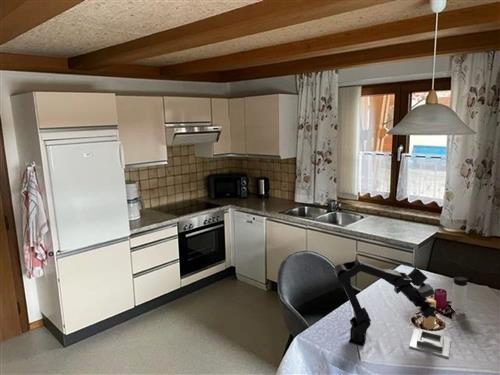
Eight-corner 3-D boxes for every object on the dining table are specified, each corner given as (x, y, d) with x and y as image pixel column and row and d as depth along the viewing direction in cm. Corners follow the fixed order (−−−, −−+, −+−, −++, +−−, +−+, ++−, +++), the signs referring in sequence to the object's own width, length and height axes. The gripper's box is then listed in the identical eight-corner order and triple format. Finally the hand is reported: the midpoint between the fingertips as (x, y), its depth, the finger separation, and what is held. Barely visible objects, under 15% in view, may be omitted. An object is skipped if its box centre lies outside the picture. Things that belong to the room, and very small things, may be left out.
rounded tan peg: (421, 325, 174) (423, 300, 171) (427, 322, 176) (429, 297, 173) (429, 330, 170) (431, 304, 167) (436, 327, 172) (438, 301, 169)
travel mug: (458, 316, 193) (461, 281, 189) (448, 310, 199) (451, 275, 195) (467, 314, 194) (471, 279, 190) (457, 308, 200) (460, 274, 196)
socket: (409, 347, 169) (409, 342, 168) (414, 329, 182) (414, 324, 182) (448, 358, 161) (449, 352, 160) (450, 339, 174) (451, 333, 174)
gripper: (433, 290, 159) (456, 312, 161) (414, 271, 178) (436, 292, 180) (413, 306, 161) (437, 329, 163) (397, 287, 179) (418, 307, 181)
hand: (432, 313), depth 172 cm, fingers closed on rounded tan peg, 5 cm apart
